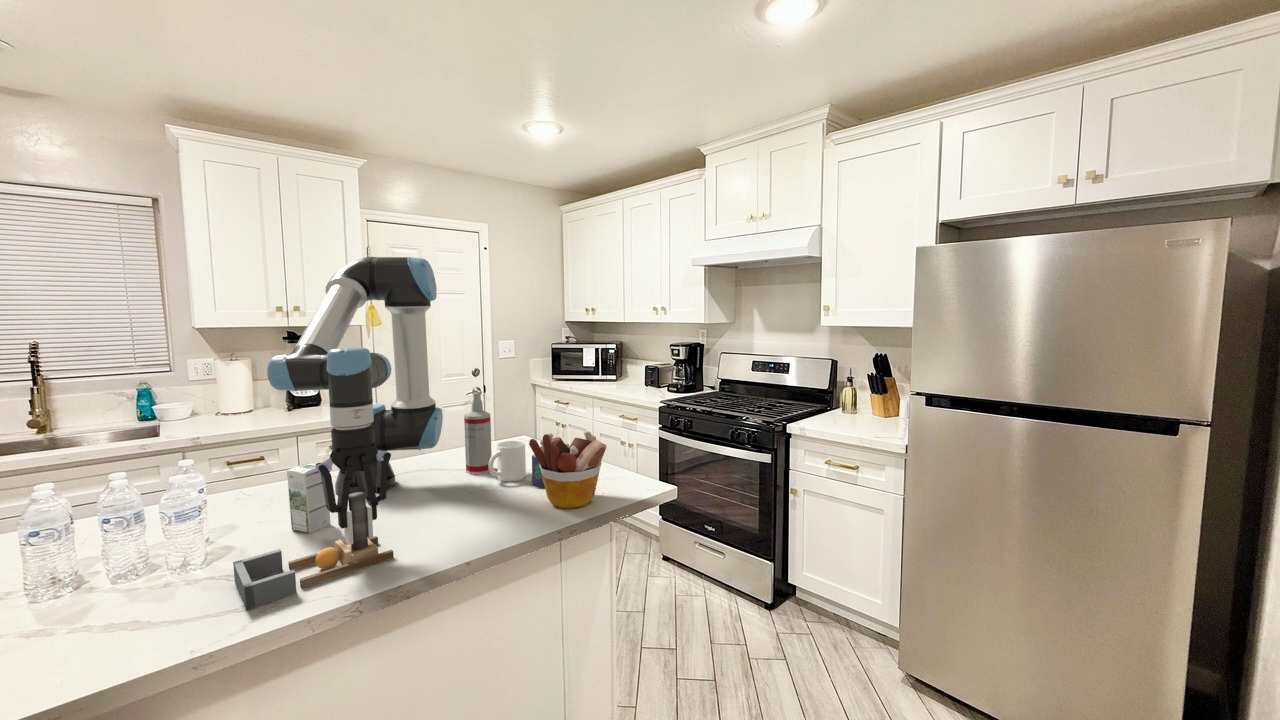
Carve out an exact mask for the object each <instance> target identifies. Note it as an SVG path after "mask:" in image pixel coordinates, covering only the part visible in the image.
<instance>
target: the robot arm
mask: <svg viewBox="0 0 1280 720" xmlns="http://www.w3.org/2000/svg"><path fill="white" fill-rule="evenodd" d="M434 273H435V272H434V271H433V268H432V266H431V263H430V262H429V261H428V260H427V259H426V258H423V257H422V258H420V257H411V256H405V257H404V256H403V257H401V256H399V257H398V256H397V257H395V256H393V257H392V256H391V257H390V256H389V257H388V256H384V257H383V256H379V257H378V256H366V257H361V258H358V259H356V260H353V261H351V262H349V263H347V264H345V265H344V266H342V267H341V268H340V269H339V270H338V271H336V272H335V273H334V274H333V275H332V276H331V278H330V279H329V281H328V282H327V283H326V285H325V296H324V298H323V300H322V301H321V303H320V304H319V306H318V307H317V309H316V311H315V313H314V314H313V316H312V318H311V319H310V321H309V323H308V324H307V326H306V327H305V329H304V331H303V333H302V334H301V336H300V338H299V339H298V341H297V343H296V345H295V347H294V348H293V349H292V350H291V352H290V354H285V353H284V354H281V355H275V356H273V357H272V358H271V359H270V360H269V361H268V365H267V369H266V376H267V380H268V382H269V384H270V386H271V387H272V388H273V389H274V390H278V391H289V392H290V391H293V392H299V391H300V392H301V391H323V390H324V391H325V390H328V398H329V402H328V403H329V417H330V418H329V420H330V421H329V423H330V426H332V427H333V428H332V429H331V430H330V434H331V435H330V437H331V453H330V454H329V458H328V459H326V460H324V461H323V462H318V463H316V468H317V470H318V471H319V473H320V474H321V479H322V485H323V491H324V497H325V502H326V508H327V509H328V510H329V511H330V514H331V513H332V514H334V513H336V514H337V520H338V521H337V522H338V526H339V528H340V529H341V530H343V529H344V541H345V542H346V543H347V544H349V545H350V544H353V527H352V512H351V511H350V510H349V500H348V499H349V495H350V494H352V493H356V492H364V493H365V498H366V516H367V534H368V538H369V539H370V538H373V537H374V523H373V521H375V520H377V518H378V507H377V506H379V503H380V502H381V501H384V500H386V499H387V491H388V490H390V489H392V488H393V487H395V485H396V475H395V471H394V470H393V467H392V466H391V463H390V459H391V457H392V454H391V453H390V452H389V451H391V452H393V451H410V450H412V451H413V450H415V451H416V450H418V451H421V450H426V449H428V450H429V449H432V448H435V447H436V446H437V445H438V442H439V441H440V439H441V434H442V429H443V420H444V419H443V418H444V415H443V409H442V408H440V407H438V406H436V405H437V404H436V400H435V399H434V398H433V397H431V396H430V381H429V379H430V378H429V361H428V359H429V357H428V342H427V340H428V339H427V323H426V322H427V321H426V320H427V319H426V313H427V312H428V310H429V309H431V302H432V301H435V300H436V299H437V289H438V288H437V284H436V283H437V282H436V277H435V274H434ZM368 301H384V308H385V309H386V310H387V311H388V312H390V315H391V328H392V331H391V332H392V342H393V343H392V344H393V348H392V349H393V362H394V375H395V376H394V377H395V380H394V381H395V393H396V398H395V400H394V401H393V402H391V404H390V409H387V407H386V405H385V404H383V403H375V404H374V403H373V402H374V401H373V400H374V399H373V397H374V396H373V389H374V388H377V387H381V385H383V384H384V383H385V382H386V381H387V380H389V378H390V377H391V375H392V365H391V362H390V360H389V359H388V358H387V357H386V356H384V355H383V354H381V353H379V352H371V351H370V350H369V349H368V348H366V347H340V344H341V342H342V341H343V339H344V336H345V334H346V333H347V331H348V329H349V326H350V325H351V323H352V320H353V318H354V316H355V314H356V312H357V311H358V309H359V308H362V307H363V306H364V305H365V304H366V302H368ZM333 465H335V466H336V467H337V469H339V470H338V473H337V476H336V480H335V483H333V479H332V478H333V477H332V475H331V472H332V470H333ZM334 488H335V489H334ZM335 494H336V495H337V501H336V496H335Z"/></svg>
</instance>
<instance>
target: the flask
mask: <svg viewBox="0 0 1280 720" xmlns="http://www.w3.org/2000/svg"><path fill="white" fill-rule="evenodd" d="M531 487H532V488H537V489H542V490H545V486H544V482H543V478H542V473H541V469H540V467H539V461H538V460H537V458H536V456H535V454H534V453H533V454H532V455H531Z"/></svg>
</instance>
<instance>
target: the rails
mask: <svg viewBox="0 0 1280 720" xmlns="http://www.w3.org/2000/svg"><path fill="white" fill-rule="evenodd" d="M368 539H369V538H368ZM369 540H370V541H371V542H372V543H373V544H375V545H376V546H377V545H378V544H379V537H378V536H377V535H375V536H374V535H373V538H370V539H369ZM346 545H348V543H347V544H346ZM318 553H319V552H317V553H313V554H311V555H307V556H303V557H300V558H297V559H294V560H290V561H288V569H289V571H291V570H294V571H295V570H298V569H300V568H304V567H307V566H311V565H314V564H316V556H317V554H318ZM394 555H395V554H394V550H393V549H389V550H385V551H382V552H378V554H376V555H373V556H370V557H366V558H363V559H360V560H357V561H354V562H351V563H348V564H344V565H343V564H342V565H338V566H336V567H335V566H334V567H332V568H330V569H325V570H323V571H320V572H317V573H313V574H309V575H307V576H304V577H300V578H299V587H300V589H306V588H308V587H311V586H314V585H316V584H319V583H323V582H326V581H328V580H332V579H334V578H338V577H341V576H344V575H347V574H350V573H353V572H356V571H359V570H362V569H364V568H365V567H366V568H368V567H371V565H372V566H374V565H377V564H381V563H384V562H386V561H389V560H392V559H394ZM366 568H365V569H366Z"/></svg>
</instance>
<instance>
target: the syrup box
mask: <svg viewBox="0 0 1280 720" xmlns="http://www.w3.org/2000/svg"><path fill="white" fill-rule="evenodd" d="M316 464H317V463H316ZM316 464H314V463H305V464H301V465H297V466H294V467H292V468H290V469H286V474H287V475H286V476H287V477H286V478H287V487H288V497H289V498H288V499H289V501H288V502H289V512H290V521H291V522H290V523H291V524H290V525H291V531H294V532H299V533H305V534H312V533H314V532H317V531H319V530H321V529H324V528H325V527H328V526H331V512H330V511H329V510H328V509H327V508H326V502H325V497H324V491H323V485H322V479H321V474H320V473H319V471H318V470H317V468H316Z"/></svg>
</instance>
